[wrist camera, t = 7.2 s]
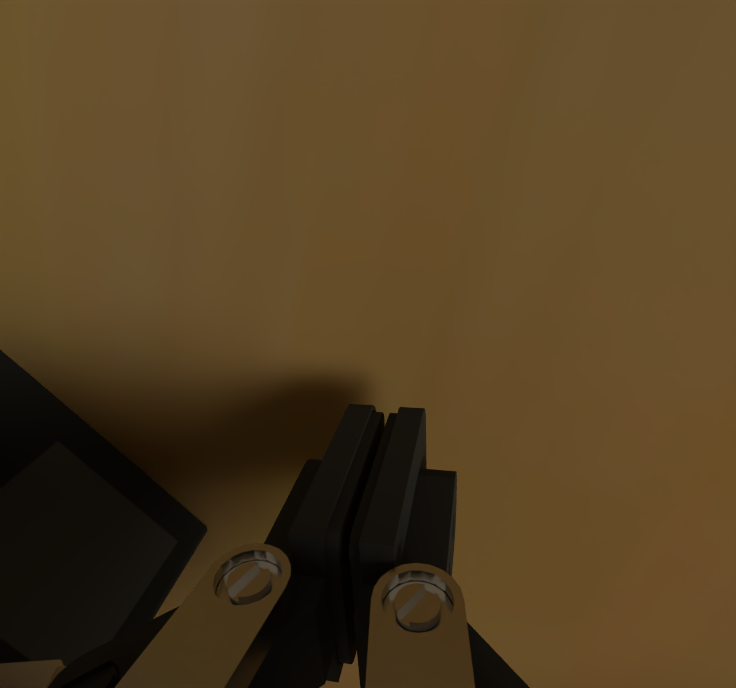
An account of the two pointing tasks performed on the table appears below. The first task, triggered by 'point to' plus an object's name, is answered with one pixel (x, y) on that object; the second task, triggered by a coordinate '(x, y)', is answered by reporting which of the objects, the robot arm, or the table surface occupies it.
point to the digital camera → (76, 531)
